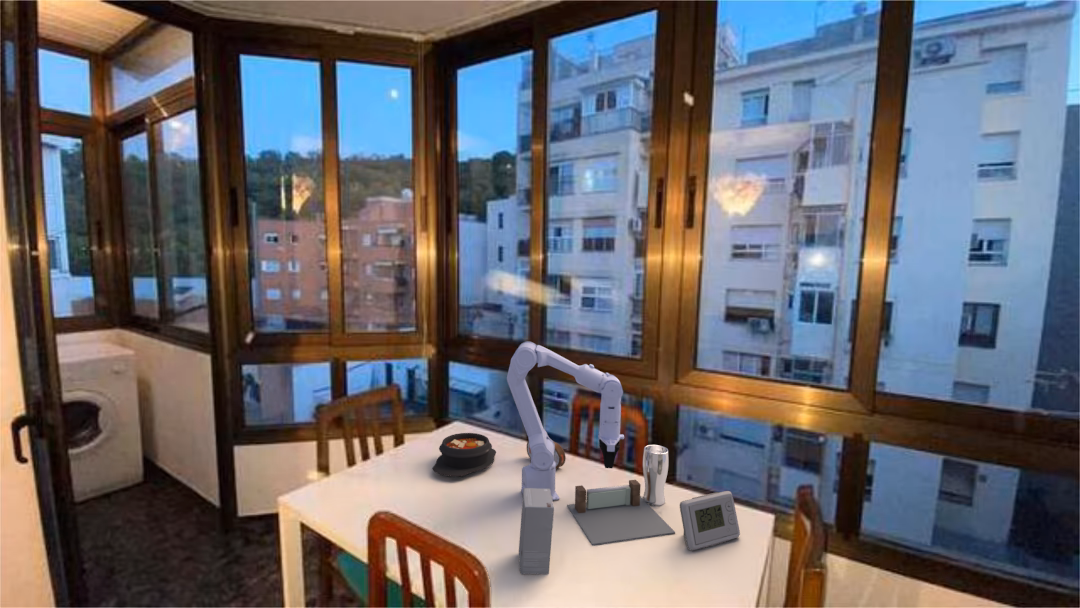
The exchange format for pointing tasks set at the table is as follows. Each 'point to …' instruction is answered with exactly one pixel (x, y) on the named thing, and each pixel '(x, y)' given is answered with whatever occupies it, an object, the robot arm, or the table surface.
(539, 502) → the skincare box
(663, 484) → the silver metal tumbler
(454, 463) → the casserole
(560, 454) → the tin
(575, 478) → the table surface
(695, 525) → the digital clock
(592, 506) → the gate
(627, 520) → the yard mat
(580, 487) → the gate posts
